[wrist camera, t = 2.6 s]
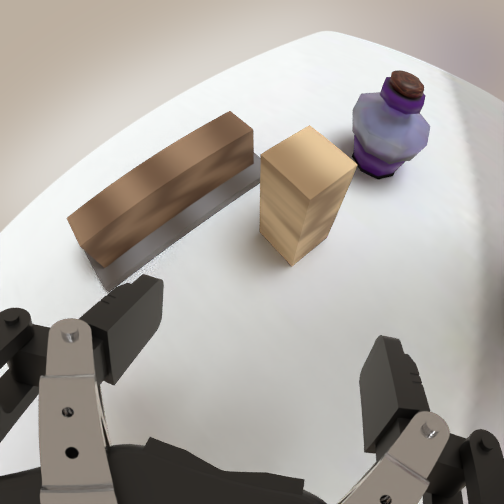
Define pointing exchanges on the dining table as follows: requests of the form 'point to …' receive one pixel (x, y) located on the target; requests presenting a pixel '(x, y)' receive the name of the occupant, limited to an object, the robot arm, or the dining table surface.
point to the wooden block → (302, 192)
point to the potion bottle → (389, 125)
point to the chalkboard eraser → (166, 198)
